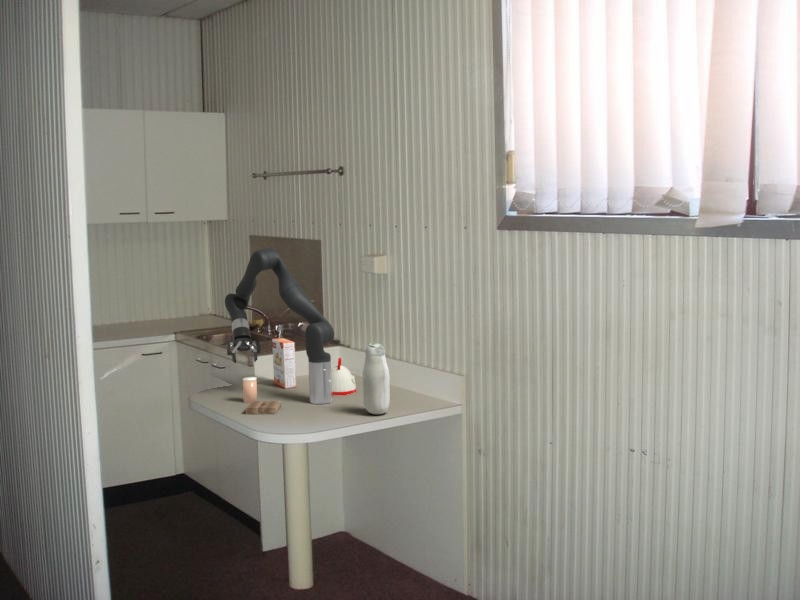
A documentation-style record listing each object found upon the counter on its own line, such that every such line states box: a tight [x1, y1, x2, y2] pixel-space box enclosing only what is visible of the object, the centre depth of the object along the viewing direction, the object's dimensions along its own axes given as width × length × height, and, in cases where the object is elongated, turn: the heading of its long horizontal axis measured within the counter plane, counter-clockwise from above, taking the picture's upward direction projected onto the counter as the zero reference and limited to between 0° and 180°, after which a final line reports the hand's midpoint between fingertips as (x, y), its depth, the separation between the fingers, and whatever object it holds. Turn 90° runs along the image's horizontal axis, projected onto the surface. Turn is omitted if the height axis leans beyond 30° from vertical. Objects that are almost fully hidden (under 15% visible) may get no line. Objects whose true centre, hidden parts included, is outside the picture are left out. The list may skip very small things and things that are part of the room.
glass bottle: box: [362, 342, 391, 416], centre depth 360 cm, size 10×10×28 cm
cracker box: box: [271, 337, 297, 390], centre depth 418 cm, size 14×6×21 cm, turn 28°
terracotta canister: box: [242, 376, 258, 404], centre depth 387 cm, size 6×6×10 cm
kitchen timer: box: [331, 357, 357, 396], centre depth 402 cm, size 14×14×15 cm
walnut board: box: [245, 400, 282, 415], centre depth 370 cm, size 12×12×2 cm
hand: (245, 361), depth 396 cm, fingers open, 8 cm apart
